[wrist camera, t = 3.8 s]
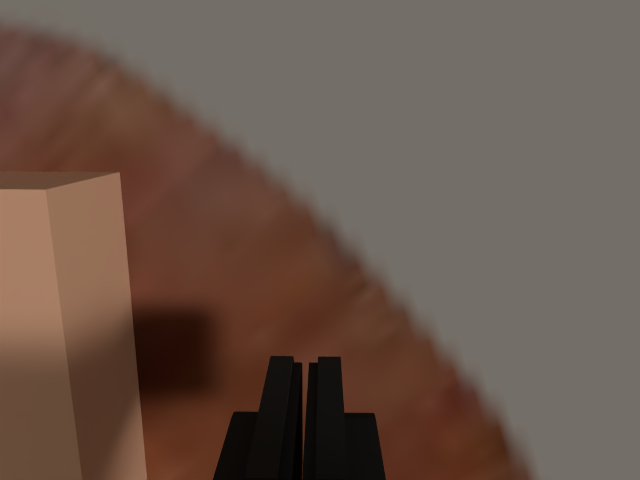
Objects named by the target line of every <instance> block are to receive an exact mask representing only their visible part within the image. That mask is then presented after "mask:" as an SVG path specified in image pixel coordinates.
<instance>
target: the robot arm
mask: <svg viewBox="0 0 640 480" xmlns="http://www.w3.org/2000/svg"><path fill="white" fill-rule="evenodd" d="M302 464H303V479H302ZM213 480H386V478H385V472H384V466H383V460H382V454H381V448H380V442H379V436H378V430H377V424H376V418H375V414H374V413H344V402H343V387H342V372H341V357H318V363H309V373H308V390H307V407H306V424H305V441H304V457H303V434H302V363H299V362H294V357H293V356H271V357H270V361H269V366H268V370H267V375H266V380H265V384H264V389H263V393H262V398H261V403H260V407H259V412H234V413H233V415H232V418H231V421H230V424H229V428H228V431H227V434H226V438H225V441H224V444H223V448H222V451H221V454H220V458H219V461H218V464H217V468H216V471H215V474H214V478H213Z"/></svg>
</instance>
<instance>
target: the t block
mask: <svg viewBox="0 0 640 480" xmlns="http://www.w3.org/2000/svg"><path fill="white" fill-rule="evenodd" d="M0 480H147V474H146V463H145V452H144V440H143V429H142V418H141V407H140V396H139V384H138V373H137V362H136V351H135V339H134V328H133V317H132V306H131V294H130V283H129V272H128V261H127V250H126V238H125V227H124V216H123V205H122V193H121V182H120V172H35V171H0Z"/></svg>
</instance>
